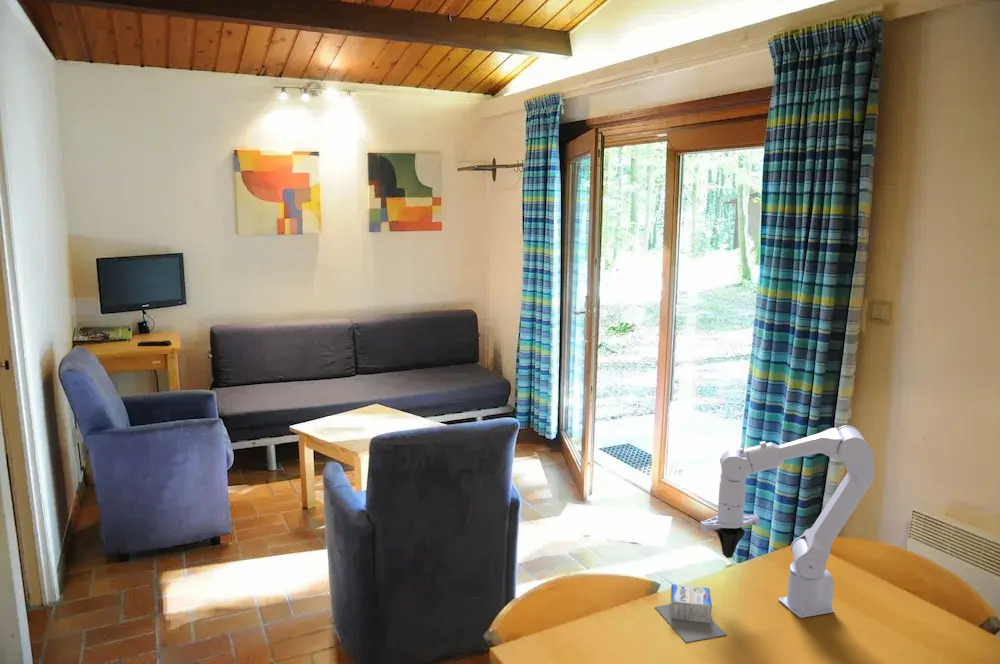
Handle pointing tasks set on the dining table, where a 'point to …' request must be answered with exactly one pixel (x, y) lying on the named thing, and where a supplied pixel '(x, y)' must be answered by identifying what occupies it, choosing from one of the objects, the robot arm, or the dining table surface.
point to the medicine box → (691, 603)
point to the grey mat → (691, 627)
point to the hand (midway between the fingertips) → (727, 555)
